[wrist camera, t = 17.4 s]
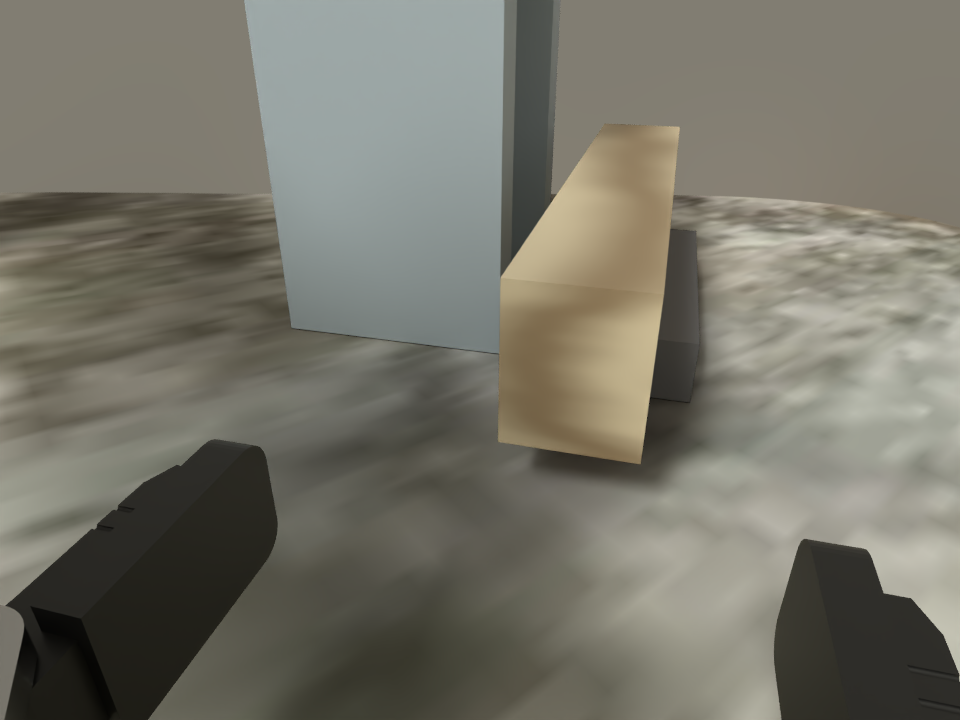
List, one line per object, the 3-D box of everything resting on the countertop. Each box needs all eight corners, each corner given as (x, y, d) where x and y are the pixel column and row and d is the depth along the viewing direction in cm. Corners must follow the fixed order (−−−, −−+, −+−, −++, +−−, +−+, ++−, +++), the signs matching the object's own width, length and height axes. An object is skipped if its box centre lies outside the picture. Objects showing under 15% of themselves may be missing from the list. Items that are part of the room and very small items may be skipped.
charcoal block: (499, 377, 28) (500, 321, 27) (555, 262, 40) (558, 220, 39) (689, 402, 26) (699, 344, 25) (689, 274, 38) (696, 230, 37)
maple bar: (497, 441, 19) (500, 278, 17) (597, 212, 40) (604, 123, 38) (640, 464, 19) (663, 294, 16) (667, 218, 39) (679, 126, 37)
